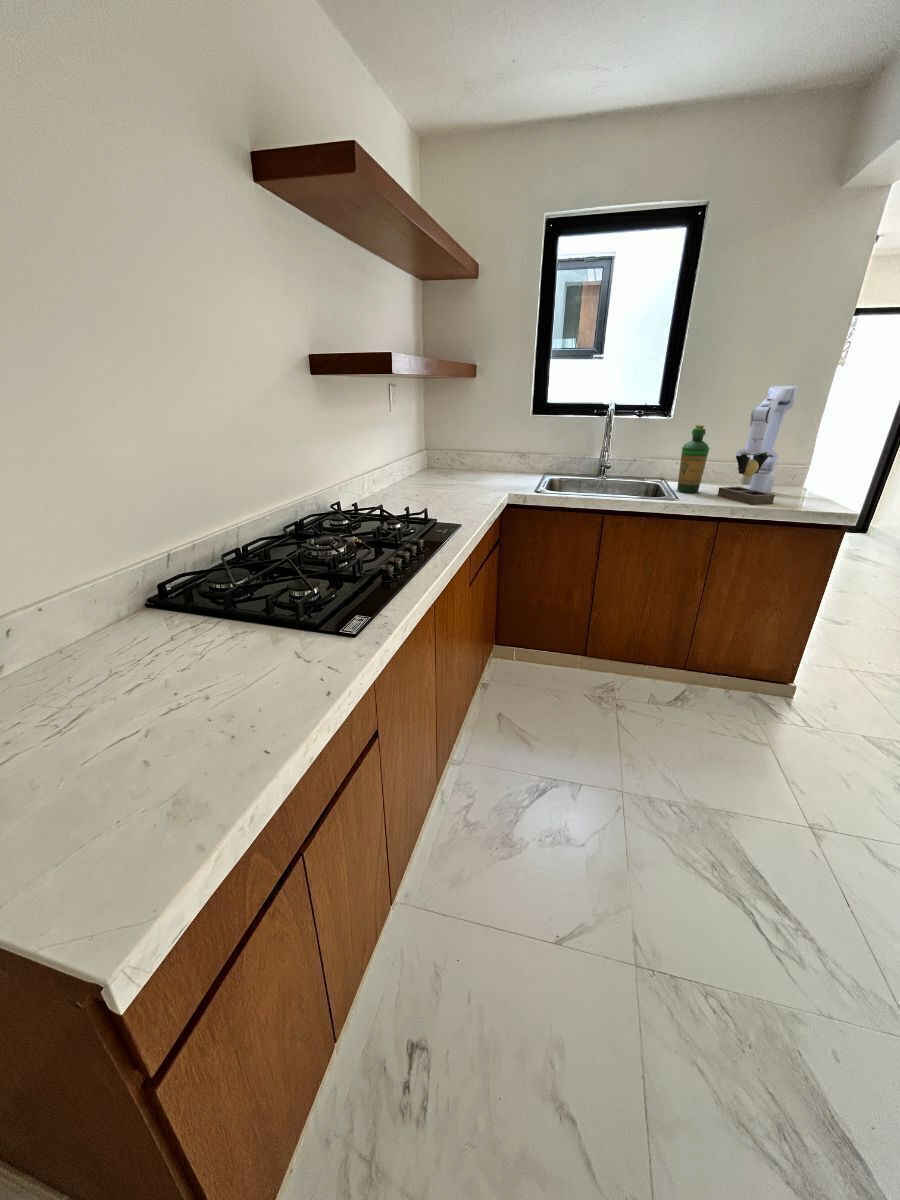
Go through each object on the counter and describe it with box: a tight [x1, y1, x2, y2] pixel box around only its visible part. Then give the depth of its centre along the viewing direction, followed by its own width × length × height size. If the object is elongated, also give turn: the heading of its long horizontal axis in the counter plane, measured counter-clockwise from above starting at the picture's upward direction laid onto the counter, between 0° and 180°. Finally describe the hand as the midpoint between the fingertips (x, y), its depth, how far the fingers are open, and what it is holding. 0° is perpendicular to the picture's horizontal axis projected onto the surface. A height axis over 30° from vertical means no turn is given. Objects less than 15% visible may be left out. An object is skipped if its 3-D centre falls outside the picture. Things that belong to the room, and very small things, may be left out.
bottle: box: [676, 424, 710, 494], centre depth 217 cm, size 11×11×28 cm
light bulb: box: [740, 459, 759, 486], centre depth 205 cm, size 6×6×10 cm
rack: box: [717, 486, 776, 506], centre depth 207 cm, size 10×19×4 cm, turn 14°
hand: (747, 473), depth 205 cm, fingers closed on light bulb, 6 cm apart
